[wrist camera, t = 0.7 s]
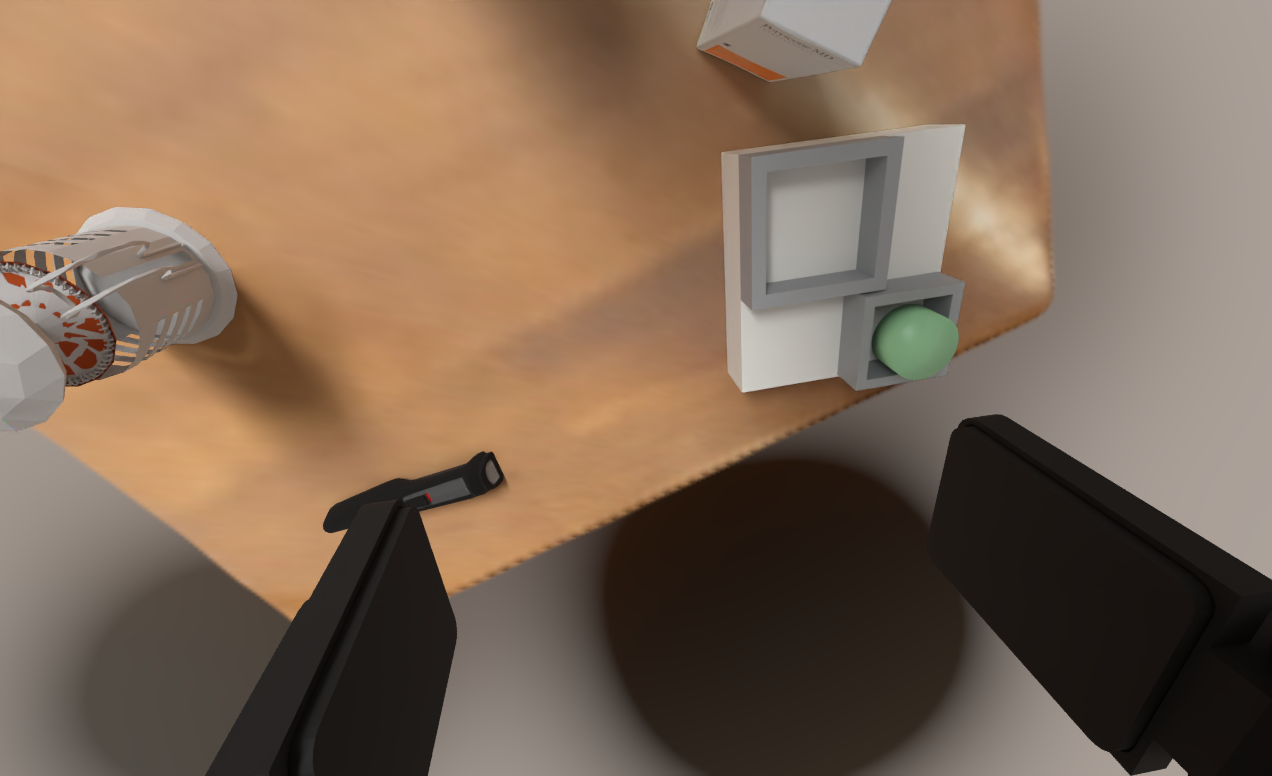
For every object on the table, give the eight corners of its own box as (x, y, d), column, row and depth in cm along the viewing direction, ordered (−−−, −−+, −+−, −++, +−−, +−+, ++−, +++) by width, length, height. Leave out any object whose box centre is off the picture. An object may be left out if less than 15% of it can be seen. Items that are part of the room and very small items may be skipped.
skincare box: (693, 50, 34) (755, 16, 24) (718, -25, 32) (798, -98, 22) (771, 86, 36) (862, 70, 25) (799, 17, 34) (909, -32, 24)
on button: (875, 309, 38) (897, 321, 35) (939, 299, 38) (964, 310, 36) (868, 369, 40) (888, 385, 38) (928, 359, 40) (951, 374, 38)
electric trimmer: (326, 491, 46) (310, 515, 43) (490, 445, 46) (486, 466, 43) (347, 521, 48) (334, 546, 45) (505, 477, 48) (502, 499, 45)
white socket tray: (721, 152, 37) (754, 157, 31) (927, 124, 38) (999, 124, 32) (727, 372, 46) (754, 410, 39) (897, 343, 47) (948, 377, 41)
